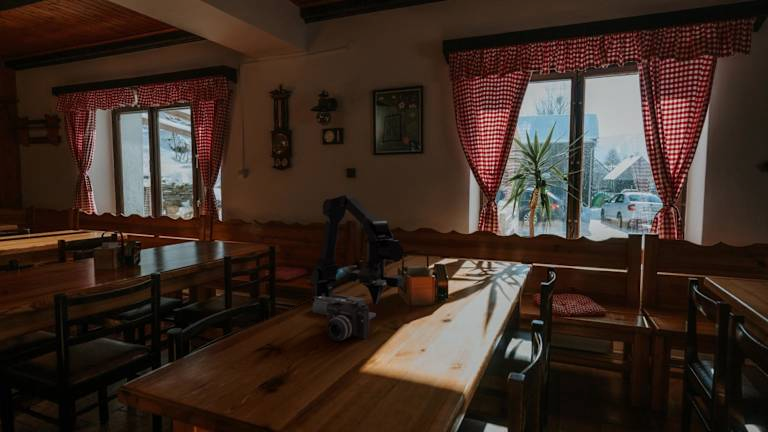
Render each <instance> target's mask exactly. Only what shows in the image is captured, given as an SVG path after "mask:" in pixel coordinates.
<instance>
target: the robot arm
mask: <svg viewBox="0 0 768 432" xmlns="http://www.w3.org/2000/svg"><path fill="white" fill-rule="evenodd" d="M356 198H357V197H356V196H355V195H353V194H342V195H340V196H338V197H337V196H336V197H335V198H334V197H333V198H326V199H325V200H324V201H323V203H322V215H323V217H324V220H325V226H324V233H323V241H322V248H321V249H322V250H321V255H320V258H319V259H317V261H316V263H315V266H314V270H313V271H312V273H311V275H310V276H309V283H310V284H312V285H313V296H311V297H310V299H311V300H314V296H318V297H321V296H322V293H326V297H328V294H330V293H332V294H333V286H332V283H336V279H337V275H338V274H339V273H338V271H339V270H338V269H339V264H337V262H336V259H335V254H336V247H337V241H338V234H339V226H340V222H341V221H342V220H343V219H344V218H345V215H346V212H347V211H348V212H349V213H350V214H351V215H352V216H353V217H354V218H355V220H357V221H358V222H359V223H360V225H361V230H362V231H363V233H364V234H365V236H366V237H367V238H365V239H364V240H363V243H365V244H367V260H365V263H364V267H362V268H361V269H360V270H359V269H356V270H353V271H350V272H349V273H348V274H347V281H348V282H354V283H355V282H357V281H358V283H359V284H362V286H365V287H366V288H367V289H368V291H369V294H370V296H371V297H370V298H371V300H372V302H373V304H374V305H377V304H379V301H380V299H381V296H382V294H383V292H384V289H385V288H386V287H391V288H400V287H401V286H404V285H405V284H406V283H405V277H404V275H398V274H392V275H389V276H387V271H385V270H386V269H385V265H386V264H387V261H390V262H395V263H397V262H399V261H401V260H402V258H403V257H404V248H403V246H402V245H401V244H400V241H399V239H395V238H394V235H393V233H392V231H391V229H390V226H389V223H388V221H387V220H386V219H384V218H382V217H380V216H378V215H375V214H373V213H372V212H371V211H369V210H368V209H367V208H366V207H365V206H364V205H363V204H362V203H361V202H360V201H359V200H358V199H356Z"/></svg>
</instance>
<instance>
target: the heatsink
mask: <svg viewBox="0 0 768 432" xmlns="http://www.w3.org/2000/svg"><path fill="white" fill-rule="evenodd" d="M313 296H314V295H313ZM323 296H325V297H326V293H322V296H321V297H323ZM328 297H332V298H339V299H347V298H349V297H352V296H350V295H345V294H344V295H343V294H338V293H333V292H332V293H330V294H328ZM353 297H354V298H357V297H356V296H353ZM319 298H320V297H318V296H314V299H313V300H314V301H313V302H312V313H313V314H318V315H319V314H320V315H325V316H327V304H328V303H329V300H323V299H319Z"/></svg>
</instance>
